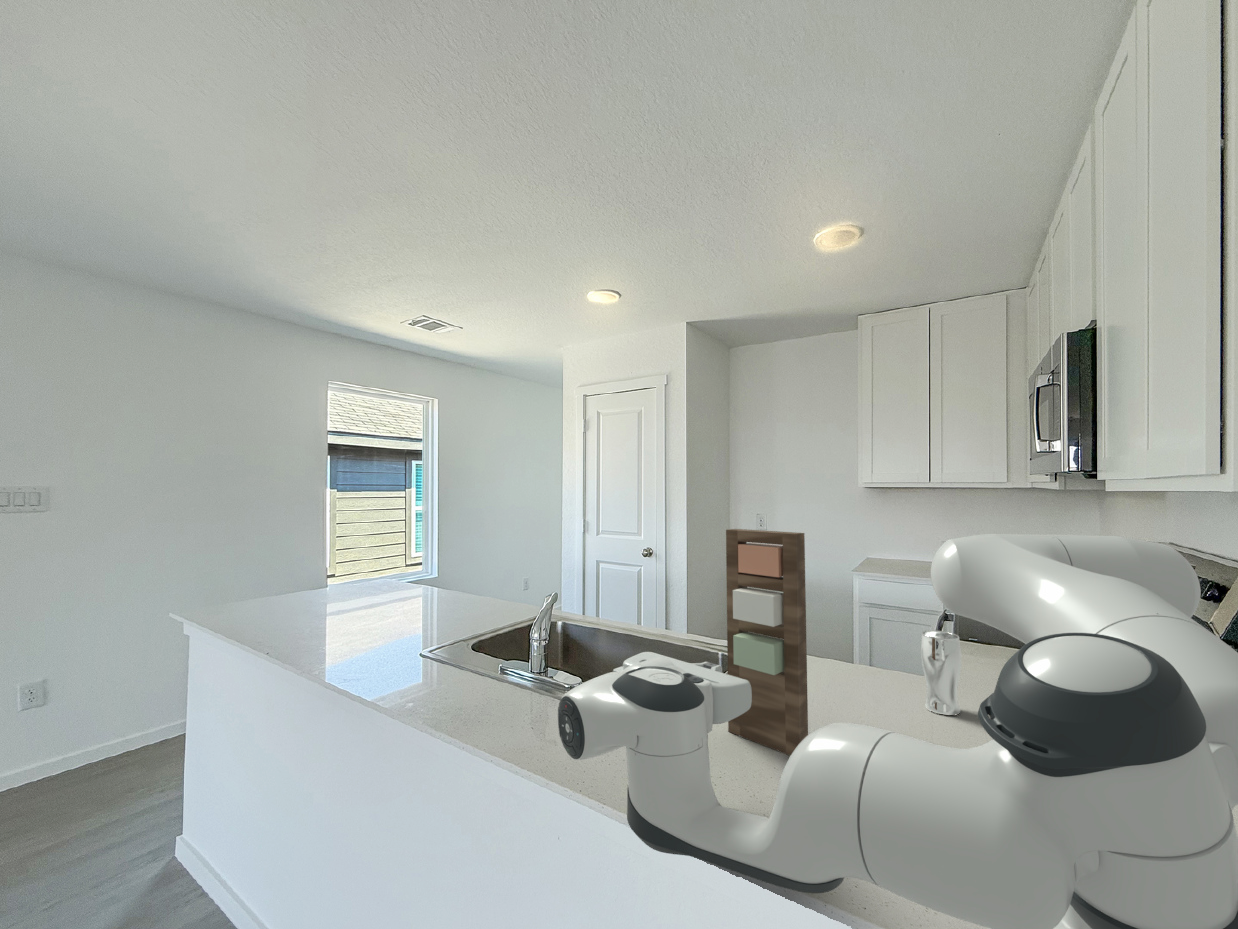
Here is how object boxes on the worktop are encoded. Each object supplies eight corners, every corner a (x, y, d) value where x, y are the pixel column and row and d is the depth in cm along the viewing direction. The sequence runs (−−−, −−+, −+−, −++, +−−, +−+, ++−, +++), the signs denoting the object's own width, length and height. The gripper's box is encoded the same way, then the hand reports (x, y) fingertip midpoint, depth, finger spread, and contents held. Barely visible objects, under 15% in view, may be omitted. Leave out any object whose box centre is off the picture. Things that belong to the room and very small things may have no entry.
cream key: (773, 626, 89) (773, 596, 89) (733, 618, 95) (732, 590, 95) (785, 622, 92) (785, 593, 92) (745, 614, 97) (745, 587, 98)
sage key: (774, 675, 89) (773, 645, 89) (733, 664, 94) (733, 635, 95) (786, 669, 91) (785, 640, 92) (746, 659, 97) (745, 631, 97)
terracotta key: (778, 577, 91) (778, 547, 91) (738, 572, 96) (738, 544, 97) (790, 574, 93) (789, 546, 94) (750, 569, 99) (750, 542, 99)
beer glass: (969, 718, 103) (966, 640, 103) (929, 715, 104) (927, 638, 105) (954, 704, 110) (952, 630, 110) (917, 701, 111) (915, 629, 112)
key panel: (799, 759, 88) (795, 534, 89) (728, 731, 98) (726, 529, 99) (808, 753, 90) (804, 533, 91) (737, 726, 100) (735, 528, 101)
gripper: (605, 694, 81) (664, 672, 91) (716, 739, 67) (772, 707, 76) (605, 653, 82) (664, 635, 91) (715, 688, 67) (771, 663, 77)
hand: (714, 668), depth 84 cm, fingers closed
